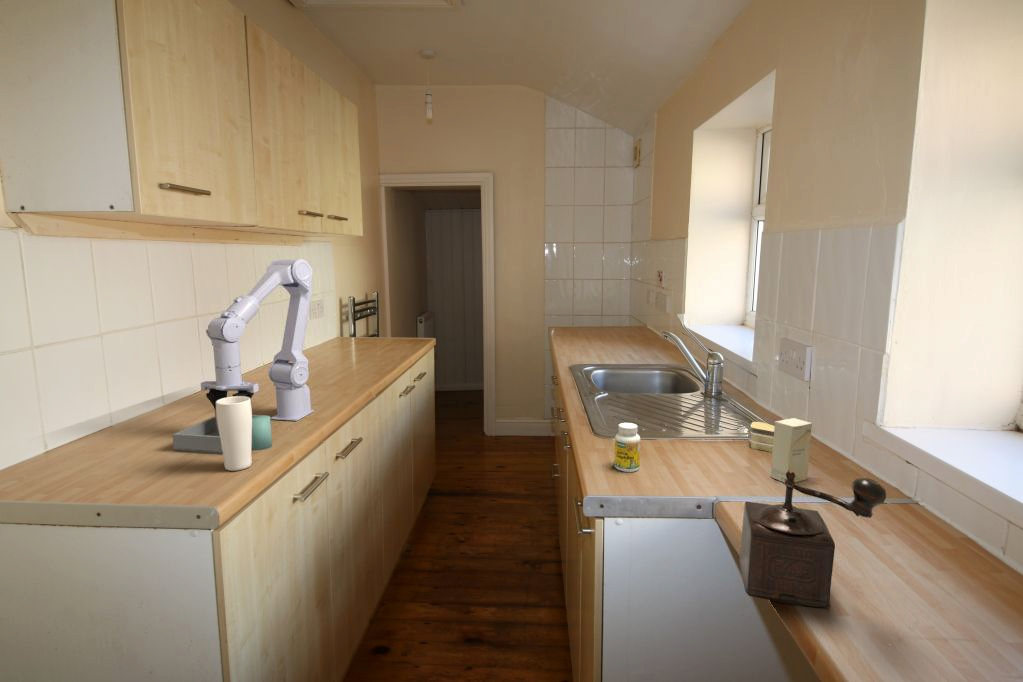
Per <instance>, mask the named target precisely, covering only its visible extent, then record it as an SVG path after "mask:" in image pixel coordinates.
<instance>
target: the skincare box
mask: <svg viewBox="0 0 1023 682" xmlns="http://www.w3.org/2000/svg"><path fill="white" fill-rule="evenodd" d="M774 426H775V427H774V439H773V451H772V452H771V454H772V455H771V464H770V477H771V478H772V479H775V480H777V481H780V482H782V483H784V481H785V480H786V479H787V478H786V472H788V471H792V472H794V473H795V475H796V476H795V479H794V481H795V482H796V483H797V482H802V481H805V480H807V479H808V472H809V471H808V470H809V461H810V460H809V459H810V451H811V450H810V449H811V448H810V447H811V438H812V428H813V427H812V426H813V423H812V422H810V421H806V420H802V419H798V418H795V417H791V418H786V419H785V418H784V419H781V420H775V421H774Z"/></svg>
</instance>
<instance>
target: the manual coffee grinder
mask: <svg viewBox="0 0 1023 682" xmlns="http://www.w3.org/2000/svg"><path fill="white" fill-rule="evenodd" d="M795 476H796V475H795V473H794V472H792V471H788V472H786V478H787V479H786V480H785V481H784V482H783V484H784V486H785V498H784V502H783V503H781V504H771V503H762V502H761V503H760V502H751V501H745V502H744V507H743V518H742V526H741V540H740V551H739V566H740V571H741V578H742V582H743V586H744V587H743V588H744V592H745V593H746V594H747V595H748V596H749V597H752V598H757V599H758V598H759V599H763V600H767V601H772V602H778V603H782V604H783V603H784V604H789V605H795V606H796V605H797V606H799V605H800V606H806V607H814V608H832V607H831V585H832V578H833V577H832V576H833V569H834V559H835V551H836V544H835V541H834V539H833V537H832V535H831V533H830V531H829V528H828V526H827V524H826V522H825V520H824V519H823V518H822V516H821V514H820V512H819V511H818V510H812V509H807V508H800V507H796V506H794V505H793V494H794V493H793V492H794V490H796V491H798V492H800V493H801V494H804V495H807V496H811V497H815V498H818V499H821V500H825V501H827V502H830V503H833V504H836V505H838V506H840V507H842V508H843V509H845V510H847V511H850V512H852V513H853V514H855V516H856V517H860V516H861V517H862V518H863V517H864V518H869V519H871V518H872V517H873V515H874V513H873V508H875V507H878V506H879V505H881V504H884V502H885V501H886V500H887V499H886V498H887V490H886V489H885V487H883V486H882V484H880V482H878V481H876V480H875V479H871V478H869V477H859V478H855V480H853V481H852V483H851V489H852V493H853V500H852V501H851V502H850V503H849V502H847V501H845V500H843V499H842V498H840V497H837V496H834V495H831V494H828V493H825V492H822V491H819V490H815V489H811V488H809V487H808V488H807V487H805V486H802V485H800V484H797V482H795V481H794V479H795Z"/></svg>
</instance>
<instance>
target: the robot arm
mask: <svg viewBox="0 0 1023 682" xmlns="http://www.w3.org/2000/svg"><path fill="white" fill-rule="evenodd" d="M270 263H271V264H269V265H268V266H267V267H266V272H265V273H264V274H263V275H262V277H261V278H260V279H259V280H258V282H257V283H256V284H255V285H254V287H252V289H251V290H250V291H249V293H248V294H247V295H239V296H235V298H234V299H233V302H232V304H231V305H229V307H228V308H227V309H226V310H225V311H222V312H221V314H220V316H219V317H215V318H213V319H212V320H210V322H209V324H208V325H207V329H205V334H206V336H207V337H208V338H209V340H210V341H211V346H212V348H213V361H214V362H213V363H214V370H215V371H214V372H215V380H206V381H203V382H200V391H208V392H207V393H205V397H206V398H207V400H209V402H210V403H211V405H212V407H213V409H214V411H215V410H216V401H217V400H219V399H222V398H227V397H228V392H235V393H233V394H232V395H231V397H234V396H246V397H249V398H250V399H251V400H252V398H253V396H254V393H257V392H259V389H260V388H259V383H256V382H255V383H254V382H248V381H244V380H243V378H242V365H241V352H240V340H241V339H242V338H243V336H244V332H245V328H246V325H247V324H248V323H250V321H251V320H252V319H253V318H254V317H255V316H256V315H257V313H259V311H260V306H259V305H260V303H262V302H263V301H264V300H265V299H266V297H268V296H269V295H270V294H271V293H272V292H273V291H274V290H276V288H278V287H279V286H281V287H283V288H284V289H285V290H286V291H287V292H288V294H289V296H290V298H289V303H288V307H287V313H286V314H287V315H286V320H285V325H284V326H285V327H284V332H283V339H282V343H281V344H282V345H281V350H279V352H277V353H276V354H275V355H274V356H273V360H272V363H271V365H270V366H269V369H268V377H269V379H270V381H271V382H272V383H273V386H274V387H275V397H276V398H275V399H276V412H277V413H276V414H275V415H274V416H270V420H275V421H295V422H297V421H299V420H301V419H303V418H304V417H306V416H308V415H310V414H312V413H313V412H315V411H314V409H312V404H311V390H310V388H309V386H308V385H307V384H306V383H307V381H308V379H309V376H310V375H309V373H310V371H309V360H308V358H307V357H306V356H305V355H304V353H303V349H304V344H305V338H306V331H307V326H308V319H309V315H310V309H311V308H310V307H311V301H312V296H313V287H312V281H313V275H314V270H313V269H312V267H311V265H310V264H309V262H308V261H306V260H305V259H301V258H299V259H282V258H276V259H274V260H272V262H270Z"/></svg>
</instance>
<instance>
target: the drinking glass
mask: <svg viewBox="0 0 1023 682" xmlns="http://www.w3.org/2000/svg"><path fill="white" fill-rule="evenodd" d="M252 408H253V407H252V398H251V399H250V398H249V397H246V396H234V397H232V396H227V398H222V399H219V400H217V401H216V417H217V424H218V430H219V435H220V440H221V446H222V451H223V454H222V456H223V464H224V468H225V470H227V471H230V472H236V471H237V472H238V471H242V470H247V469H248V468H250V467H251V466H252V464H253V458H252V451H253V450H252V415H253V410H252Z"/></svg>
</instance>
